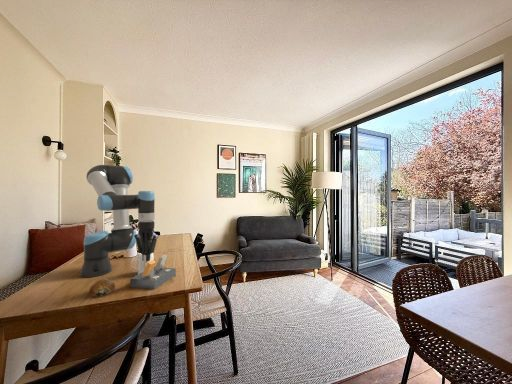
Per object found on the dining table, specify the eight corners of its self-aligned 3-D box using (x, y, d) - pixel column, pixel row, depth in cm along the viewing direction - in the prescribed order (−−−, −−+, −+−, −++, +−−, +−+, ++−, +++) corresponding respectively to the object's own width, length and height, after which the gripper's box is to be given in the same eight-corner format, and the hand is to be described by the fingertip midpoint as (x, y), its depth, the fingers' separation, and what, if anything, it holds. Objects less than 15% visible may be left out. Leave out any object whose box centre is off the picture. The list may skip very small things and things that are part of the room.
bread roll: (117, 296, 109) (121, 279, 112) (104, 297, 100) (109, 277, 103) (96, 297, 109) (100, 279, 112) (82, 297, 99) (87, 278, 103)
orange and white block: (140, 276, 112) (147, 262, 111) (147, 273, 117) (153, 259, 116) (143, 278, 112) (150, 264, 111) (150, 275, 117) (156, 261, 116)
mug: (131, 277, 123) (131, 256, 123) (130, 273, 130) (130, 252, 130) (154, 273, 130) (154, 252, 129) (152, 269, 137) (152, 249, 137)
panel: (130, 286, 112) (130, 262, 112) (154, 273, 130) (153, 252, 129) (154, 289, 109) (154, 264, 109) (175, 275, 126) (175, 254, 126)
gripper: (130, 221, 112) (130, 268, 112) (152, 222, 109) (152, 270, 109) (140, 219, 119) (140, 264, 119) (161, 220, 117) (161, 265, 116)
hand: (146, 267), depth 114 cm, fingers closed
